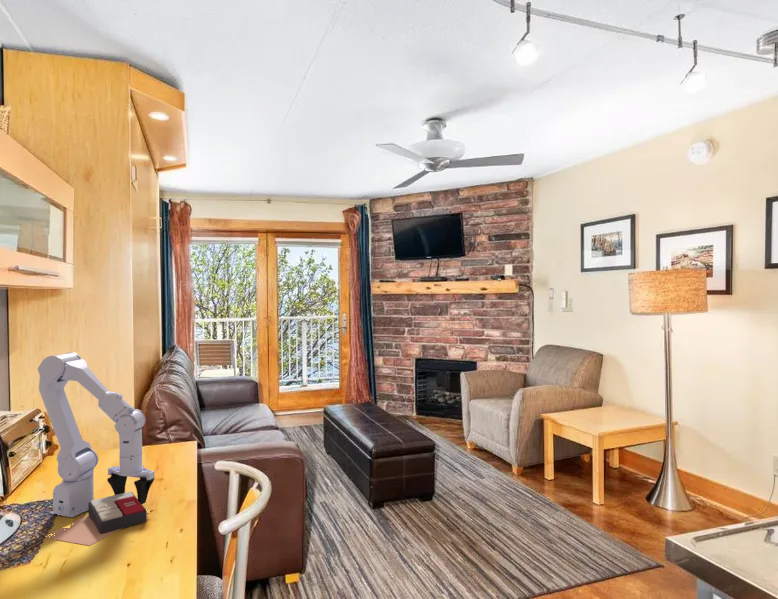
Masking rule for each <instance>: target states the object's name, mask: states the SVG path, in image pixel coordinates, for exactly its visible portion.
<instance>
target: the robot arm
mask: <svg viewBox="0 0 778 599" xmlns="http://www.w3.org/2000/svg"><path fill="white" fill-rule="evenodd" d="M37 372H38V374H39V381H38V382H39V384H38V391H39V393H40V396H41V399H42V402H43V404H44V407H45V411H46V413H47V415H48V417H49V420H50V423H51V426H52V429H53V431H54V434H55V437H56V439H57V442H58V446H59V447H60V448H59V449H60V450H59V451H58V453H57V456H56V461H57V473H58V476H59V477H60V478H61V479H62V481H61V482H60V483H59V484H57V485H55V486H54V488H53V490H52V511H51V512H50V514H51V513H52V514H51V515H54V514H57V515H56V516H60V515H61V516H62V517H68V518H74V517H76V516H79V515H80V514H83V513H84V512H87V511H88V503H89V502H90V501H92V500H95V499H94V493H95V492H94V489H95V488H94V472H95V468H96V466H97V465H98V463H99V456H98V453H97V452H96V451H95V450H94V449H93V448H92V446H91V444H90V443H89V441H86V440H84V439H83V438H82V434H81V432H80V430H79V427H78V423H77V421H76V418H75V416H74V413H73V410H72V408H71V404H70V402H69V399H68V397H67V395H66V392H65V387H66V386H67V384H68V382H69V381H73V382H76V383H79V385H81V386H82V387H83V388H84V389H85V390H86V391H87V392H89V393H90V394H91V395H92V396H93V397H94V398H96V399H97V400H98V402H97V406H98V407H99V409H101V411H102V412H104V414H105V415H106V416H108V417H109V419H110V420H112V421H113V422H114V423H115V424H114V428H115V431H116V432H117V434H118V435H119V436H118V439H119V442H118V443H119V466H115V465H114V466H111V467H108V468H107V476H110V477H108V478H107V482H108V484H109V486H110V488H111V489H112V491H113V494H114V495H117V494H122V493H126V484H127V480H128V477H129V478H139V479H138V480H135V481H133V484H134V487H135V490H136V498H137V499H138V500H139V502H140V503H141V504H142V505H144V504H145V503H147V499H148V494H149V491H150V488H151V486H152V484H153V483H154V481H155V471H154V470H151V469H148V468H146V467H145V466H144V465H143V428H142V427H144V425H145V423H146V416H145V413H143V411H142V410H140V409H137V408H136V409H135V408H134V406H132V405H130V404H129V403H128V402H127V401H126V400H125V399H124V398H123V397H124V396H123V394H122V393H120V392H119V393H118V392H117V391H109V389H108V388H107V387H106V386H105V385H104V383H103V382H101V381H100V379H99V378H98V377H97V376H96V375H95V373H94V372H93V370H91V369H90V368H89V366H88V363H87V361H86V360H85V359H83V358H82V357H81V356H80V354H78V353H77V352H72V351H71V352H66V353H63V354H57V355H49V356H46V357H45V358H44V359H42V361H41V363H40V364H39V366H38V367H37ZM61 516H60V517H61Z"/></svg>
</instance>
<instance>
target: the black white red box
mask: <svg viewBox="0 0 778 599" xmlns="http://www.w3.org/2000/svg"><path fill="white" fill-rule="evenodd" d="M146 509H147V508H146V507H144V504H141V503H140V502H139V500H138V497H137V496H136V495H135V494H134V493H133V492H132V491H127V492H126V491H125V493H122V494H117V495H115V494H114V495H110V496H106V497H101V498H97V499H94V500H92V501H90V502H89V503H88V510H87V511H88V512H87V513H88V514H87V515H89V517H90V518H91V519H92V520H93V522H94V524H95V525H96V527H97V529H98V531H99V533H100V534H104V533H107V532H111V531H114V530H118V529H120V530H121V529H124V528H128V527H131V526H136V525H139V523H140V524H143V523H145V521H146V522H147V517H148V516H147V515H148V514H147V511H146ZM142 522H143V523H142ZM118 531H119V530H118Z"/></svg>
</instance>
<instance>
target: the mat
mask: <svg viewBox="0 0 778 599" xmlns="http://www.w3.org/2000/svg"><path fill="white" fill-rule="evenodd" d="M146 509H147V510H149V509H150V508H146ZM73 522H74V524H73V525H72V524H71V523H70V524H71V526H70V528H62V527H61V528H58V529H59V530H58V529H57V530H54V531H55V532H54V531H52V532H50V533H49V534H51V533H52V534H53V535H52V536H51V535H49V536H50V537H49V536H48V534H46V535H47V537H46V538H45V539H47V538H49V540H53V539H56V540H55V541H59V540H61V541H60V542H64V541H66V542H65V543H70V542H71V543H70V544H74V545H75V544H76V545H81V544H82V546H88V547H91V546H93V545H94V544H96V543H98V542H100V541H101V539H102V540H104V539H106V538H107V537H109V536H111V535H112V534H114V533H116V532H117V531H119V530H121V529H118V530H114V531H111V532H107V533H104V534H100V533H99V531H98V529H97V527H96V525H95V524H94V522H93V520H92V519H91V518H90V517H89V515H88V514H87V515H85V516H83V517H81V518H79V519H77V520H75V521H73ZM64 529H65V530H64ZM54 533H55V534H54ZM54 535H55V536H54ZM92 544H93V545H92ZM90 545H91V546H90Z"/></svg>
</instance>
